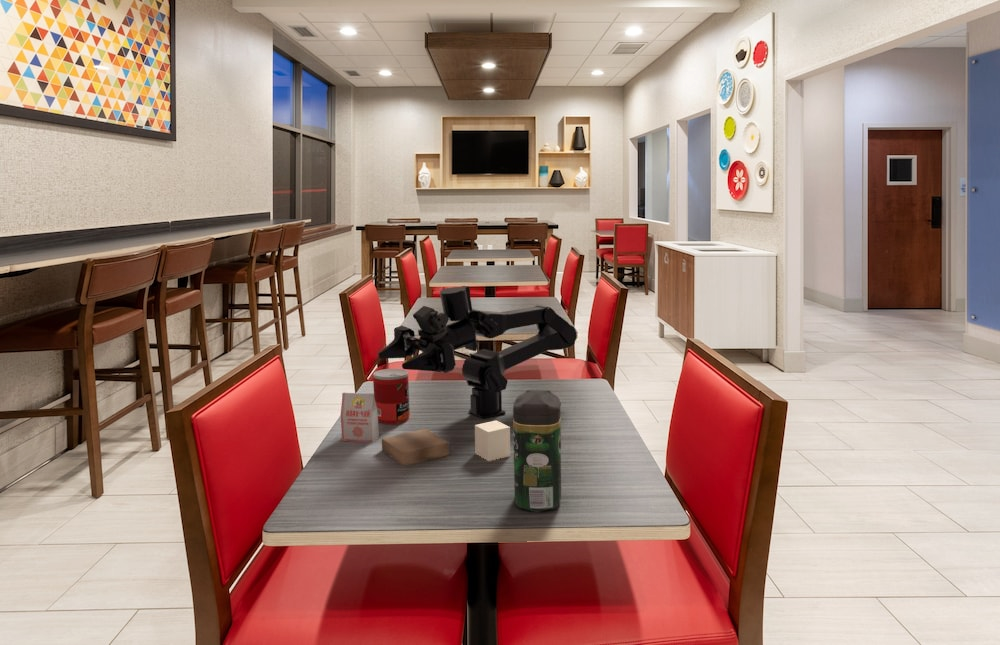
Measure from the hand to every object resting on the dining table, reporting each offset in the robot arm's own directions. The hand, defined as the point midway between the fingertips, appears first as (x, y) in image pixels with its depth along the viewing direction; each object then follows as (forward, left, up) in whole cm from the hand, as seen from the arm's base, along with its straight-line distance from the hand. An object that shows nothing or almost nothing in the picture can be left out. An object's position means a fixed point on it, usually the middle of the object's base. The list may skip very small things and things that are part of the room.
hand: (390, 361), depth 146 cm
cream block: (-12, +20, -17) cm, 29 cm away
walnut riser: (0, +10, -17) cm, 20 cm away
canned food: (-5, -12, -17) cm, 22 cm away
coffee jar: (-7, +42, -17) cm, 46 cm away
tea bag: (+6, -4, -17) cm, 19 cm away
